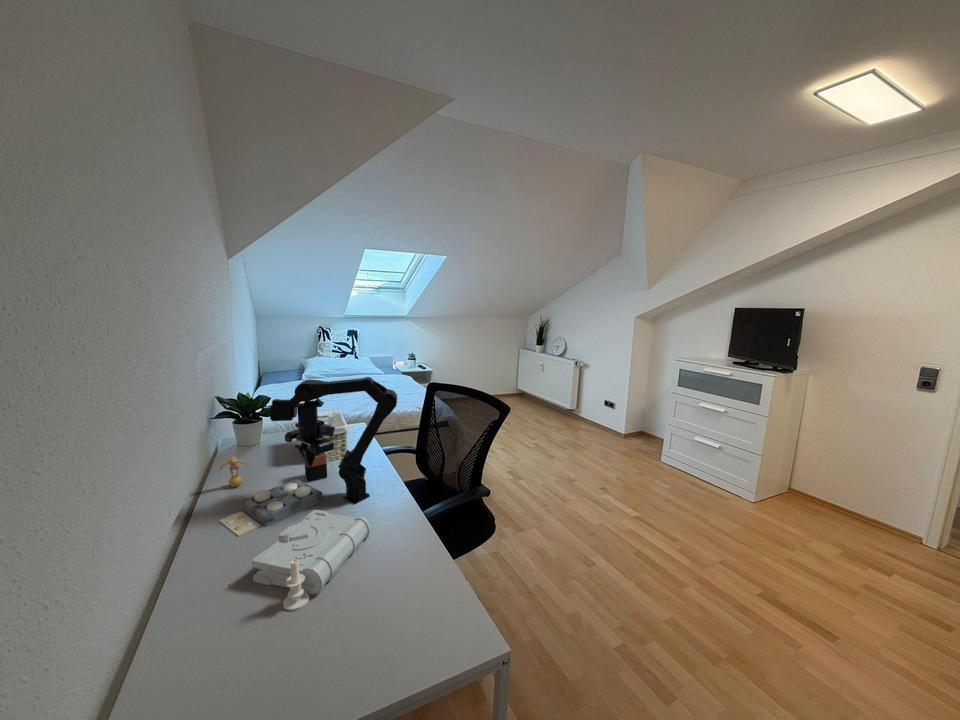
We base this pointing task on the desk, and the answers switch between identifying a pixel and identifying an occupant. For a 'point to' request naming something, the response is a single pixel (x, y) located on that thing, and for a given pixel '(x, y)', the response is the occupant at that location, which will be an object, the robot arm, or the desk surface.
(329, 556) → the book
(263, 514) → the button board
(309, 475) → the battery
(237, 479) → the figurine
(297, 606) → the candle
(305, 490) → the button
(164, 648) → the desk surface
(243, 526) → the pattern card
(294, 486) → the button
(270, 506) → the button
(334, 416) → the storage basket
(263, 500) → the button
